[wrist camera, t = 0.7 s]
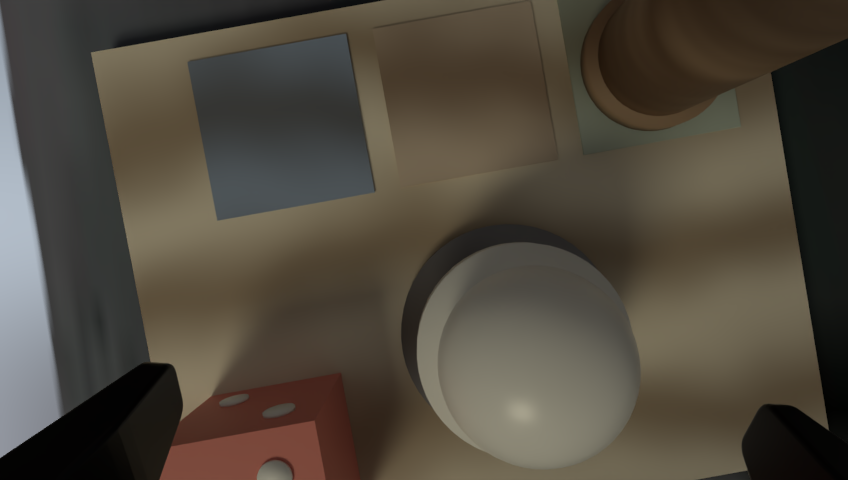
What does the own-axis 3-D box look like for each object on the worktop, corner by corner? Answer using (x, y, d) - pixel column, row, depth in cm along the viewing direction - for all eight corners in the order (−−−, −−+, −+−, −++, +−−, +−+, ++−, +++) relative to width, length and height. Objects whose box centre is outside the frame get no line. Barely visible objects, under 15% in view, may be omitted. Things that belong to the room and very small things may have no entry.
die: (364, 500, 20) (345, 592, 15) (235, 523, 20) (173, 623, 15) (340, 370, 20) (313, 418, 15) (210, 393, 20) (140, 449, 15)
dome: (632, 422, 18) (727, 509, 12) (436, 457, 18) (443, 561, 12) (599, 225, 18) (680, 224, 12) (400, 261, 18) (392, 276, 12)
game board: (813, 444, 21) (845, 461, 20) (202, 554, 21) (184, 581, 20) (732, -51, 21) (758, -74, 19) (106, 61, 21) (80, 47, 19)
